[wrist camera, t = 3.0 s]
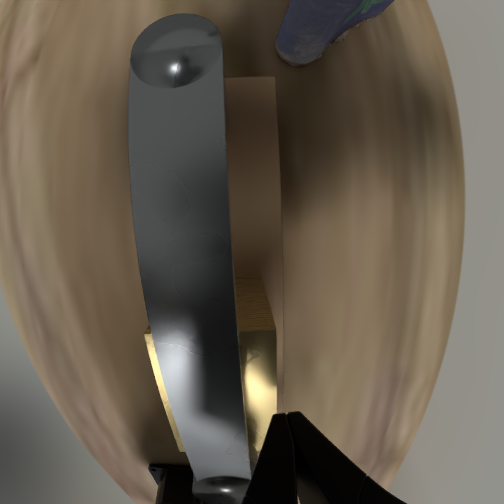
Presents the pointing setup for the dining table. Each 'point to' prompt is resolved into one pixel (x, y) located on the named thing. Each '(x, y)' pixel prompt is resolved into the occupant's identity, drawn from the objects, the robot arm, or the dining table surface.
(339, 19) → the flask
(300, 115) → the dining table surface
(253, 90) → the plane body
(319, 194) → the dining table surface
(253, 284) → the light wooden cube
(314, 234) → the dining table surface
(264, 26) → the dining table surface
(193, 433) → the lever
